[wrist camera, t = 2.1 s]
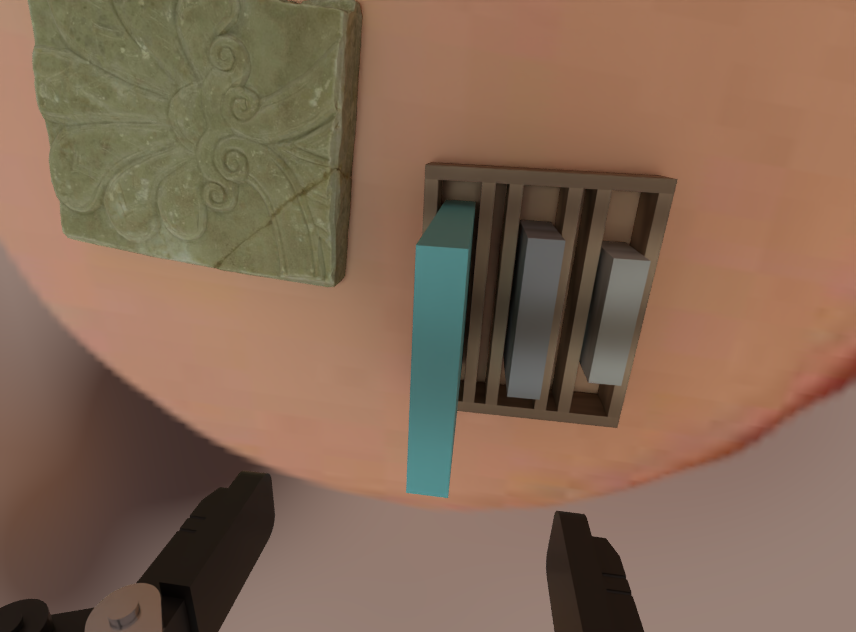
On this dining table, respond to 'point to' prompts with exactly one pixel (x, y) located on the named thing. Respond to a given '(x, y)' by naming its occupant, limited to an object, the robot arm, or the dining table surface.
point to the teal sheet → (438, 345)
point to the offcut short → (613, 312)
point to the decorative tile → (204, 128)
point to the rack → (644, 239)
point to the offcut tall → (532, 307)
